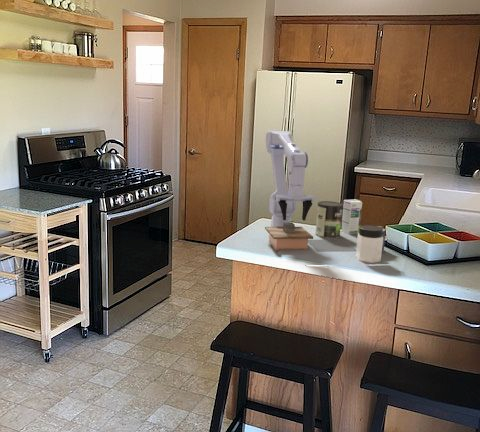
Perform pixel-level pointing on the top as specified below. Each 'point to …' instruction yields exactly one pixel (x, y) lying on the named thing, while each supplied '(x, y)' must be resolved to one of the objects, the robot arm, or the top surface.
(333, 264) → the top surface
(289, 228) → the lid
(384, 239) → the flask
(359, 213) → the syrup box
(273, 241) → the dish
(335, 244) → the mat
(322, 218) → the coffee can
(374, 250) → the jar
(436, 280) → the top surface
